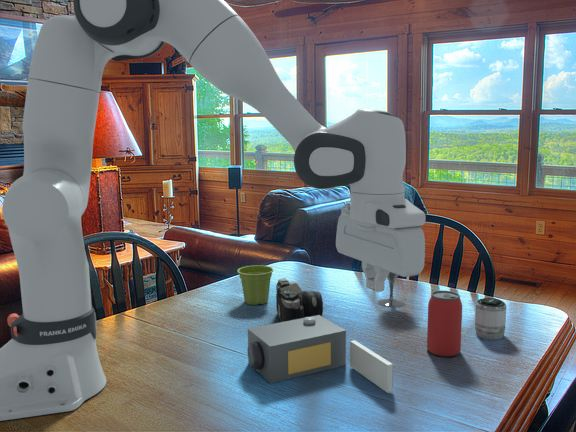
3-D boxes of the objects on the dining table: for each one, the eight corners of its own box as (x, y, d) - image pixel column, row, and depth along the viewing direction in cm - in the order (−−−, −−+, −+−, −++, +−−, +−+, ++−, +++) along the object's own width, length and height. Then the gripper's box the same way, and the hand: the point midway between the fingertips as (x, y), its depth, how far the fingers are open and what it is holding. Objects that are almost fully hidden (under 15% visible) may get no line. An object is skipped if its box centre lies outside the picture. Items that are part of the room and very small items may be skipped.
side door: (395, 390, 97) (395, 363, 96) (387, 392, 97) (387, 365, 96) (357, 364, 108) (357, 339, 107) (349, 366, 107) (350, 341, 106)
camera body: (265, 385, 101) (264, 343, 99) (242, 364, 110) (241, 325, 108) (346, 365, 108) (346, 326, 107) (319, 347, 117) (319, 311, 116)
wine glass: (411, 301, 147) (413, 244, 144) (400, 309, 140) (401, 250, 138) (382, 296, 151) (383, 241, 148) (370, 304, 144) (371, 247, 142)
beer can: (455, 360, 110) (457, 301, 108) (422, 353, 114) (424, 296, 112) (464, 349, 116) (466, 292, 114) (432, 342, 119) (434, 287, 117)
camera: (329, 332, 126) (329, 289, 124) (283, 336, 124) (282, 292, 122) (313, 310, 141) (313, 271, 139) (272, 312, 139) (272, 273, 138)
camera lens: (509, 334, 123) (511, 299, 122) (497, 342, 119) (499, 306, 118) (481, 327, 128) (483, 294, 126) (469, 335, 123) (470, 300, 122)
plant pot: (231, 305, 145) (230, 272, 144) (248, 294, 154) (247, 263, 152) (264, 309, 142) (264, 275, 140) (279, 298, 150) (279, 266, 149)
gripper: (327, 202, 101) (327, 277, 103) (400, 219, 83) (397, 309, 85) (357, 200, 104) (355, 273, 106) (433, 216, 86) (429, 303, 88)
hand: (375, 289), depth 96 cm, fingers closed
